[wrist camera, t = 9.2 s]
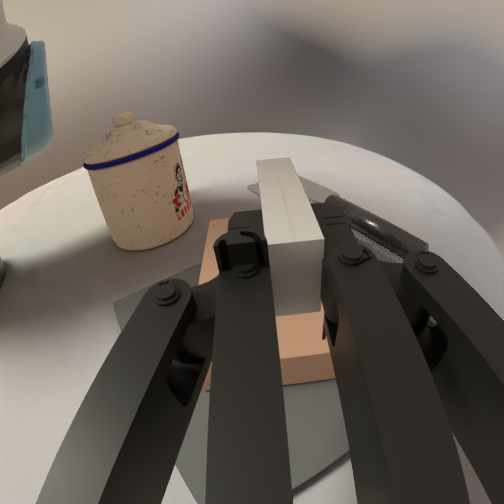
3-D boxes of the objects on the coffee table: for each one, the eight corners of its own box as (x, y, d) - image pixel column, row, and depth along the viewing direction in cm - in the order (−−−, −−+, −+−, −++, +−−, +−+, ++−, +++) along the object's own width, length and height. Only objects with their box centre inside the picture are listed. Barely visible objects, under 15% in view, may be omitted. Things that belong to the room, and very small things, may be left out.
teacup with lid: (206, 235, 26) (178, 103, 19) (109, 265, 24) (62, 140, 17) (185, 188, 35) (166, 97, 28) (115, 210, 33) (88, 120, 26)
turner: (437, 248, 20) (442, 230, 19) (397, 282, 18) (402, 261, 17) (290, 174, 35) (289, 160, 34) (247, 188, 33) (245, 173, 32)
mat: (217, 528, 8) (214, 528, 7) (116, 308, 19) (113, 302, 19) (471, 322, 14) (474, 315, 14) (314, 219, 26) (314, 213, 26)
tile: (395, 340, 11) (332, 207, 21) (186, 364, 12) (209, 219, 21) (382, 370, 13) (331, 236, 22) (201, 391, 13) (216, 249, 23)
